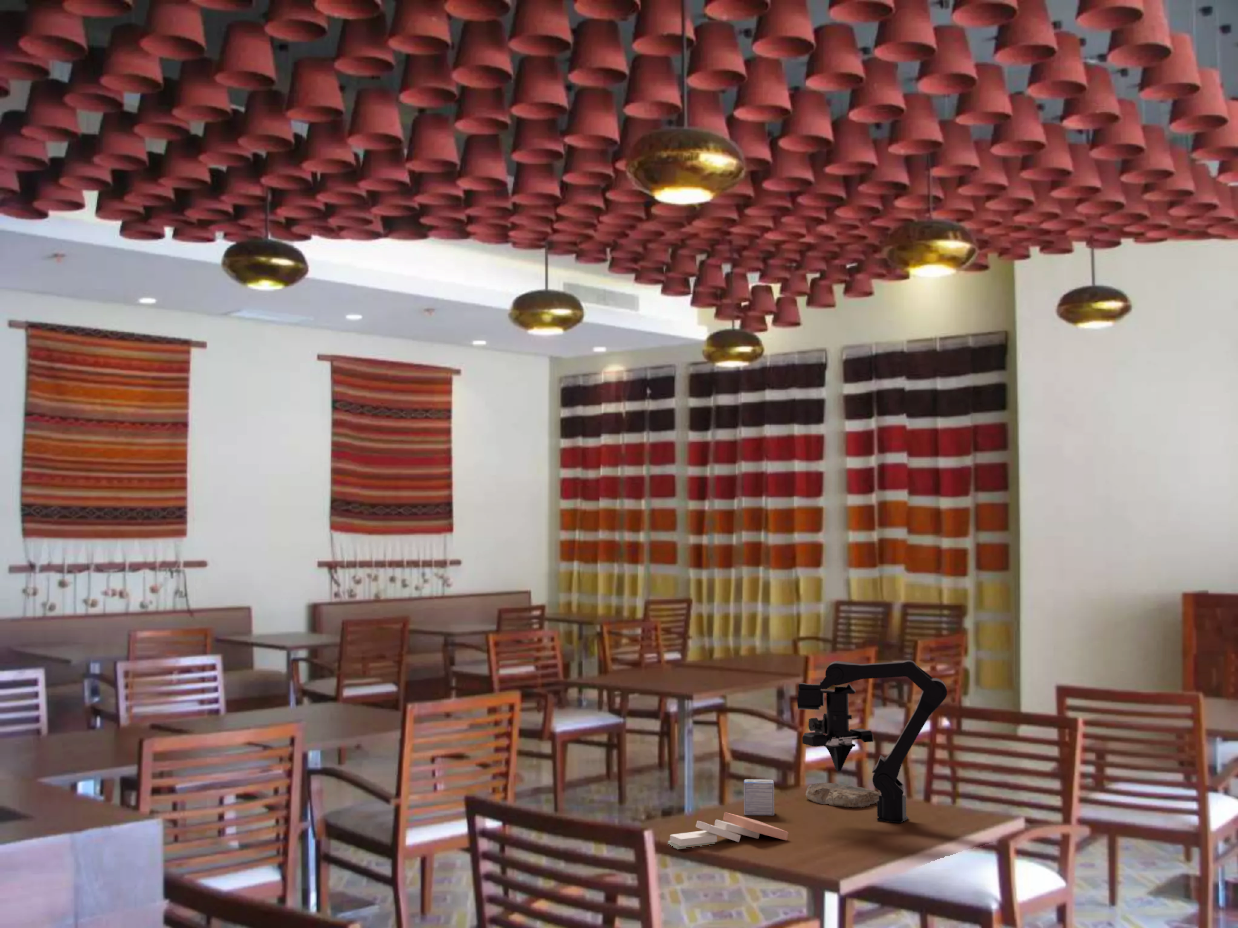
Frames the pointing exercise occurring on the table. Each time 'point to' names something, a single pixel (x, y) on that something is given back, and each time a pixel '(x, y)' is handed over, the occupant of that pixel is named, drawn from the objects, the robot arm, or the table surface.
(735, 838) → the ivory domino
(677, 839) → the ivory domino
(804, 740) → the robot arm
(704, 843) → the sage domino
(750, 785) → the medicine box
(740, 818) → the terracotta tile
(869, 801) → the flat grey rock
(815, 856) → the table surface
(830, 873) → the table surface
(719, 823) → the ivory domino
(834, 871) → the table surface
